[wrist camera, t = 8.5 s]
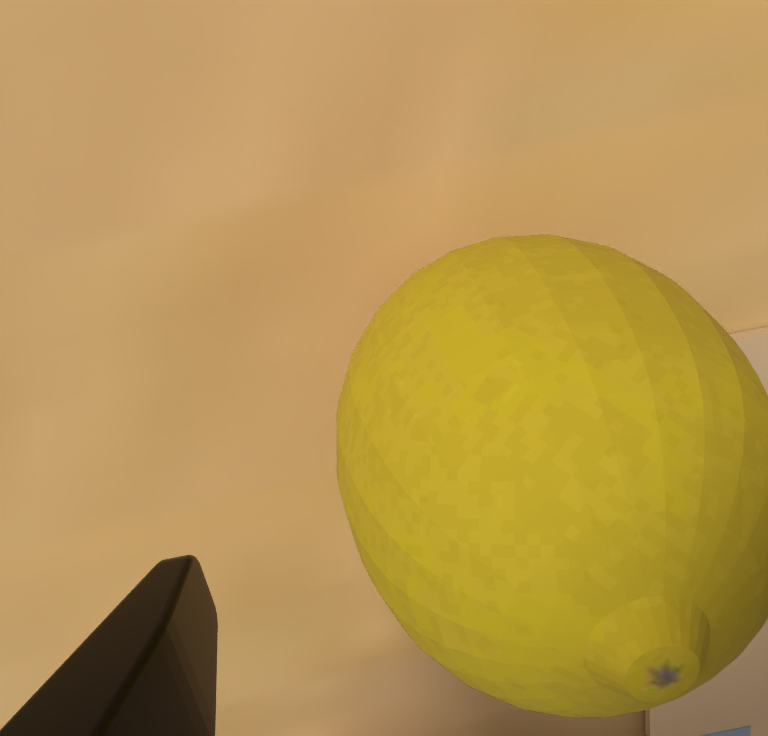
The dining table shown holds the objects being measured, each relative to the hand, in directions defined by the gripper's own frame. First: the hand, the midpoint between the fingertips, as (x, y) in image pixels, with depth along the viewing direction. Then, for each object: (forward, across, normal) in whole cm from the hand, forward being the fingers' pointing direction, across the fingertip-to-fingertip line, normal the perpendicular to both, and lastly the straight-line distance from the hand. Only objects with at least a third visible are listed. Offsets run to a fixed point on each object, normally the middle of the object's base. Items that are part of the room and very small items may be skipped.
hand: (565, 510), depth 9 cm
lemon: (+6, 0, 0) cm, 6 cm away
